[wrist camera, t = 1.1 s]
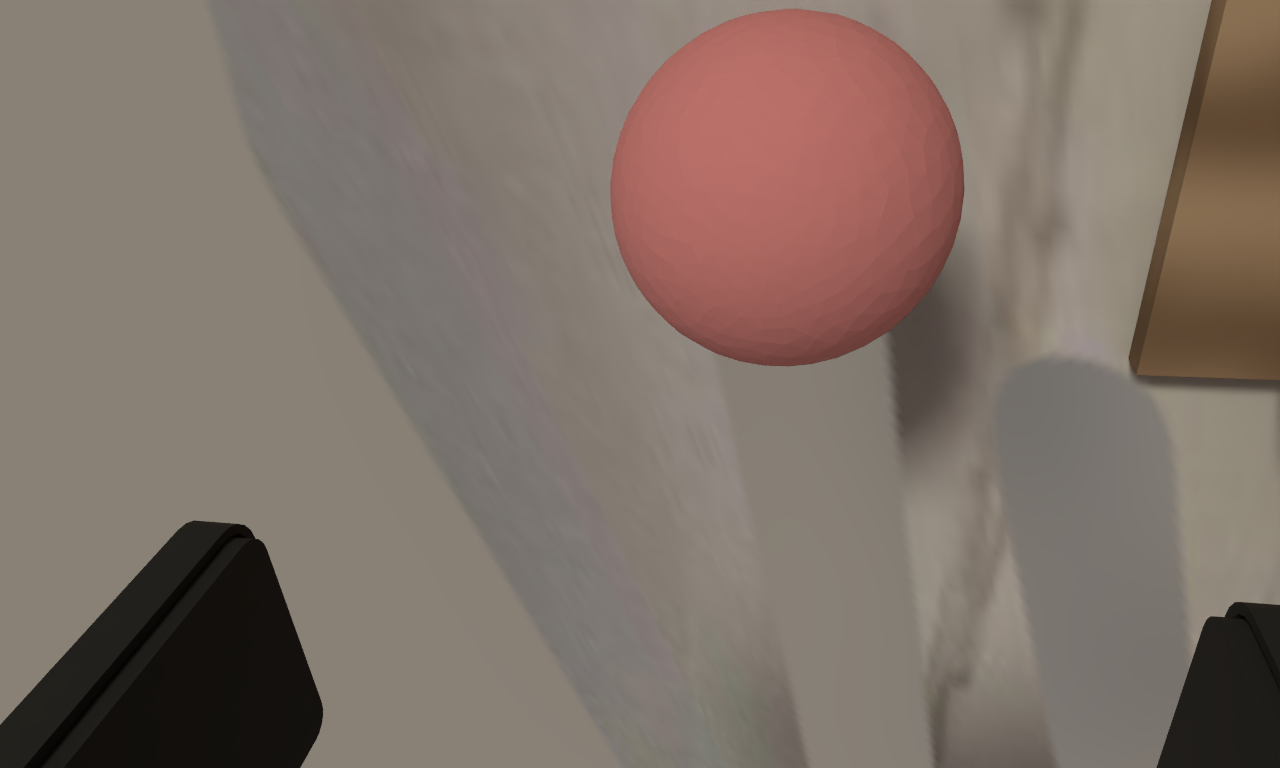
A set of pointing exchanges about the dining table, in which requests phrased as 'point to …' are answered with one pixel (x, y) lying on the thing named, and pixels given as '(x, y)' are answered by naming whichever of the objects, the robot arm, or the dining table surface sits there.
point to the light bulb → (787, 187)
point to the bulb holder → (1221, 213)
